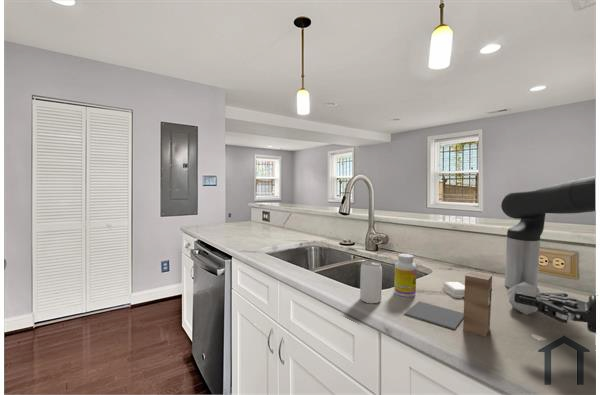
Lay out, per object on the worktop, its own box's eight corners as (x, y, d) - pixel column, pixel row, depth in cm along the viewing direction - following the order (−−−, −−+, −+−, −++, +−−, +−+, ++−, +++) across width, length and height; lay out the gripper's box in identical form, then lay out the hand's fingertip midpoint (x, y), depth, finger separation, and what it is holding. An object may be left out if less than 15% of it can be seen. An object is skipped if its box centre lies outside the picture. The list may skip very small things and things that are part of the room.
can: (375, 306, 91) (375, 266, 91) (356, 300, 96) (356, 262, 95) (385, 299, 96) (385, 262, 95) (366, 294, 101) (367, 258, 100)
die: (515, 304, 94) (498, 280, 93) (548, 297, 89) (530, 271, 88) (519, 324, 88) (501, 298, 87) (554, 317, 83) (535, 290, 82)
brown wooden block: (467, 322, 81) (469, 270, 80) (491, 329, 78) (493, 275, 77) (463, 329, 77) (465, 275, 76) (487, 337, 74) (489, 280, 73)
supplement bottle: (415, 299, 97) (416, 258, 96) (393, 296, 99) (394, 256, 98) (415, 291, 103) (416, 253, 102) (394, 288, 105) (395, 252, 104)
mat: (418, 302, 94) (418, 301, 94) (465, 315, 86) (465, 313, 86) (404, 314, 86) (404, 313, 86) (454, 330, 77) (454, 328, 77)
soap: (440, 288, 107) (440, 280, 106) (459, 288, 107) (460, 280, 107) (453, 299, 98) (454, 290, 97) (474, 298, 98) (475, 289, 98)
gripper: (618, 291, 65) (519, 274, 77) (627, 312, 55) (511, 288, 67) (615, 325, 66) (517, 303, 77) (624, 352, 56) (510, 322, 67)
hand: (515, 296), depth 72 cm, fingers closed
